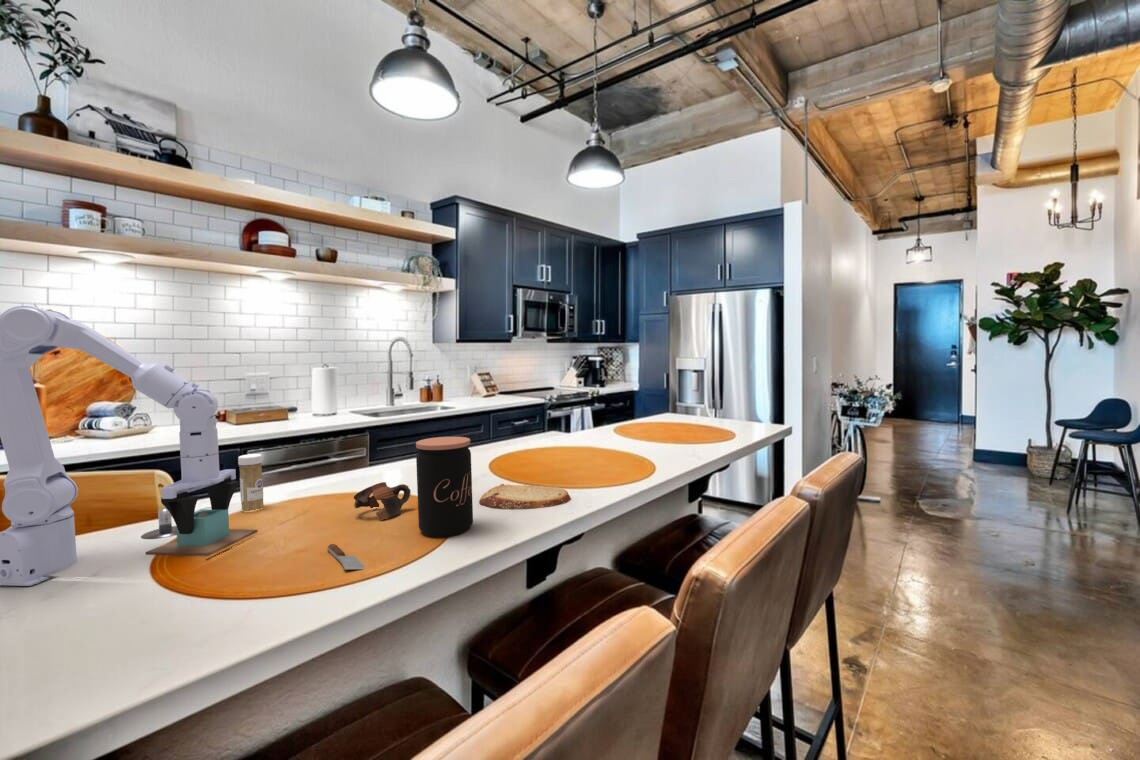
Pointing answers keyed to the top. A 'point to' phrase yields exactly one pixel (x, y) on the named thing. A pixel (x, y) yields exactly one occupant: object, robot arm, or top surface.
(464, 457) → the coffee jar
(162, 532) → the round base with peg
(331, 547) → the cleaver
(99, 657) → the top surface
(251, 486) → the sprinkles bottle
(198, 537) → the teal collar
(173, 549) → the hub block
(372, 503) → the pottery mug
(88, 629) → the top surface
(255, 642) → the top surface
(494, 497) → the slice of bread
